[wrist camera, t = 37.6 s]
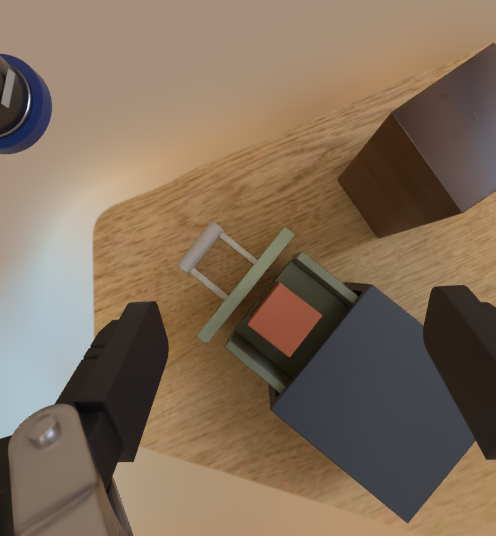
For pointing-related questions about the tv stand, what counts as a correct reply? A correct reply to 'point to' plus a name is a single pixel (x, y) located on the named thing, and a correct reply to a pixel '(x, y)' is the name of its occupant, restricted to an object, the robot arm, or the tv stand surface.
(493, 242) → the tv stand surface
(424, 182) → the stand
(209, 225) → the drawer
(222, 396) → the tv stand surface
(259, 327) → the block
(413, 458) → the cabinet
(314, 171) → the tv stand surface
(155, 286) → the tv stand surface
